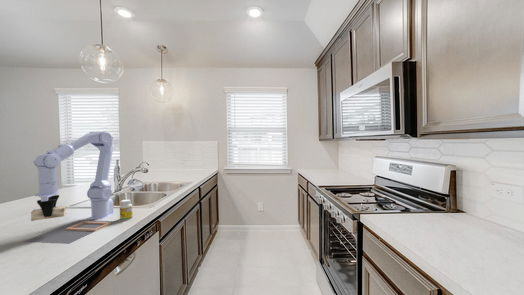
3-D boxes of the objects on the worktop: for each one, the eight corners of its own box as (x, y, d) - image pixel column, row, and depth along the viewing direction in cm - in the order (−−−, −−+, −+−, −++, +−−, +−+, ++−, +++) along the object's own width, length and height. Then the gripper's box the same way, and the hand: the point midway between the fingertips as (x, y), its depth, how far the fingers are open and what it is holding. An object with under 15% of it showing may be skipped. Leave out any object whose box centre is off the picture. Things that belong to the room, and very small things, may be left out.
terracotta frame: (83, 223, 108) (83, 221, 108) (110, 224, 107) (110, 222, 107) (65, 230, 100) (65, 228, 100) (95, 231, 98) (95, 229, 98)
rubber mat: (79, 221, 113) (79, 220, 113) (116, 222, 110) (116, 221, 110) (23, 242, 89) (23, 241, 89) (69, 244, 86) (69, 243, 86)
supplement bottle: (134, 218, 115) (134, 199, 115) (124, 222, 110) (123, 202, 110) (128, 217, 118) (128, 198, 117) (117, 220, 113) (117, 201, 113)
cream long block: (65, 213, 101) (65, 205, 101) (64, 216, 97) (63, 208, 97) (34, 218, 95) (33, 209, 95) (31, 221, 92) (30, 212, 91)
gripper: (39, 181, 100) (40, 212, 100) (29, 186, 87) (31, 221, 88) (60, 179, 103) (62, 209, 104) (54, 184, 91) (55, 218, 92)
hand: (49, 214), depth 96 cm, fingers closed on cream long block, 4 cm apart
